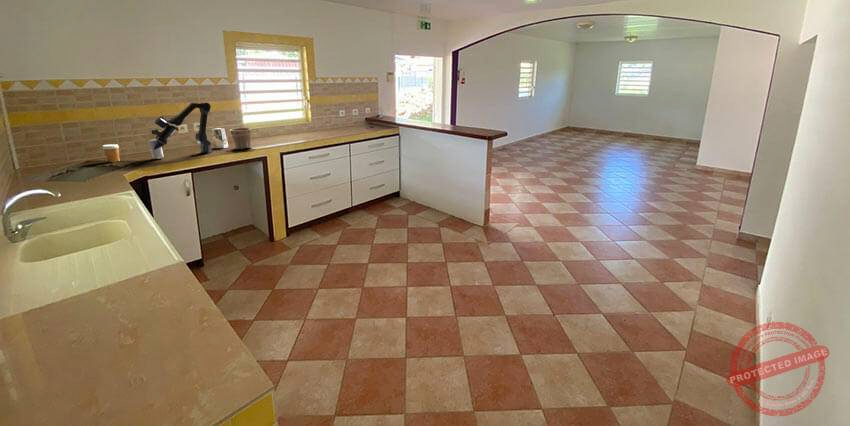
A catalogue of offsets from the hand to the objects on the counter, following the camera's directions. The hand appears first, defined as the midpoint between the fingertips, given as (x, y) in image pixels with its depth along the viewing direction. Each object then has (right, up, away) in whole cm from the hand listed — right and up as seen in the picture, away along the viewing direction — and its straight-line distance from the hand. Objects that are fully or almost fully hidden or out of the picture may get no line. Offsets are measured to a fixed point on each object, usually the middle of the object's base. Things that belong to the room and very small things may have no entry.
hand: (153, 148), depth 297 cm
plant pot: (+45, +7, +46) cm, 65 cm away
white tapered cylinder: (+1, -6, +3) cm, 7 cm away
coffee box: (+26, +8, +49) cm, 55 cm away
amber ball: (+1, -7, +3) cm, 8 cm away
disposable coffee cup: (-25, -10, -5) cm, 28 cm away
